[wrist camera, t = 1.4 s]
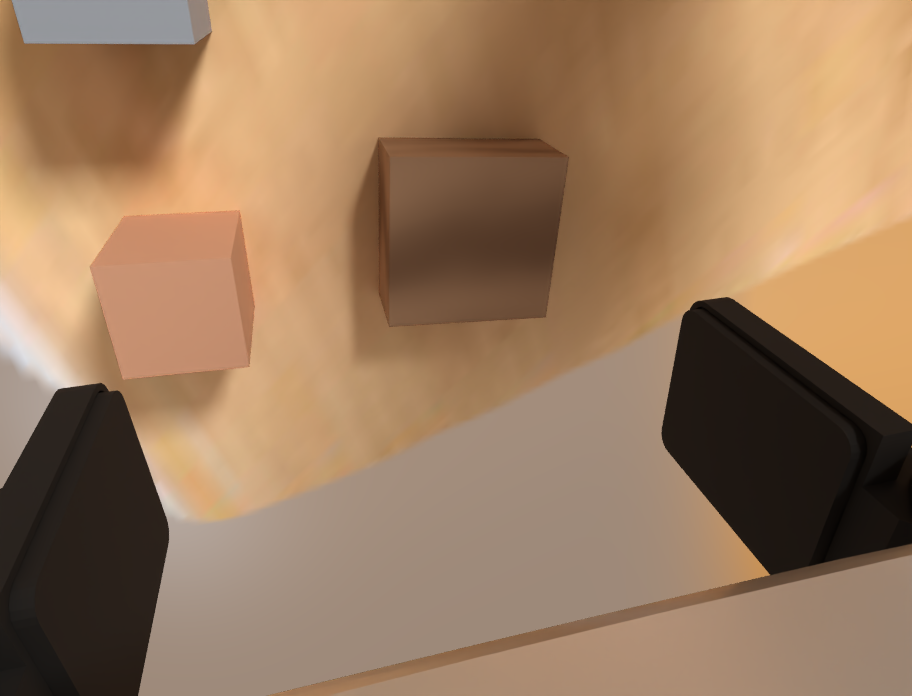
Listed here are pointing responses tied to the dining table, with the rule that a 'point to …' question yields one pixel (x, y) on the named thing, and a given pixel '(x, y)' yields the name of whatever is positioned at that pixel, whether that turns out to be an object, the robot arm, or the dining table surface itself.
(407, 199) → the walnut base
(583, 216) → the dining table surface
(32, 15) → the slate block
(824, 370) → the robot arm
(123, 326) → the terracotta block
